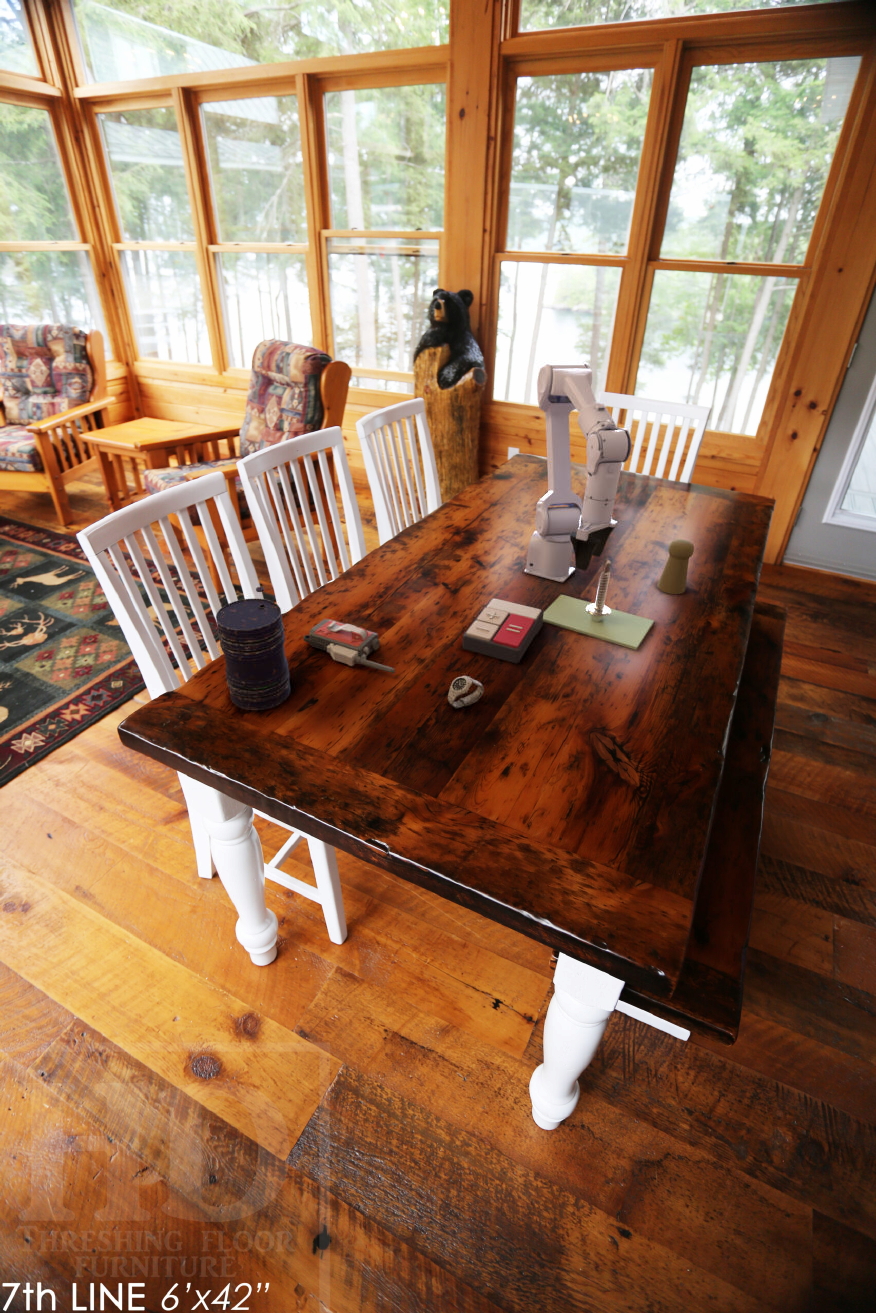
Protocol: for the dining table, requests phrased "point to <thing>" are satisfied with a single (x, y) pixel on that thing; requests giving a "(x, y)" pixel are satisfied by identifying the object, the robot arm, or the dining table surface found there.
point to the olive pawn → (676, 567)
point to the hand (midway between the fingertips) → (588, 561)
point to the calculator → (503, 630)
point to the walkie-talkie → (345, 643)
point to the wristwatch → (464, 691)
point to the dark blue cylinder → (254, 652)
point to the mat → (612, 629)
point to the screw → (601, 596)
